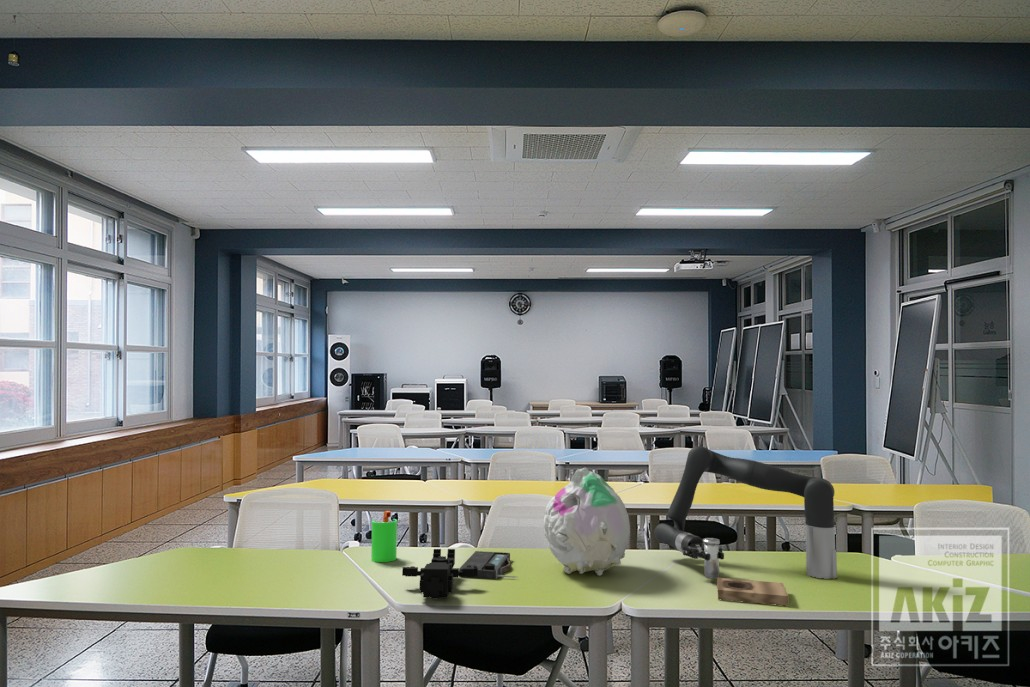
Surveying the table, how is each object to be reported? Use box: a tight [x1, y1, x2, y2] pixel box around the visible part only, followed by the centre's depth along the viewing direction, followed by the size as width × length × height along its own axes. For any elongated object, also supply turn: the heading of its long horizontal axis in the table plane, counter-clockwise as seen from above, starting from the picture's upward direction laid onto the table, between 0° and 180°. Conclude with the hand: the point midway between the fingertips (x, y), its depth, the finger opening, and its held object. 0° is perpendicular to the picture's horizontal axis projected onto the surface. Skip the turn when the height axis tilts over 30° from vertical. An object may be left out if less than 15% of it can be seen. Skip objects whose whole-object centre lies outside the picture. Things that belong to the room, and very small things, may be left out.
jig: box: [716, 577, 789, 607], centre depth 206 cm, size 20×14×3 cm
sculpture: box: [543, 467, 631, 577], centre depth 234 cm, size 33×36×30 cm
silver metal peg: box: [702, 537, 721, 579], centre depth 222 cm, size 5×5×12 cm
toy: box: [401, 548, 478, 599], centre depth 210 cm, size 24×10×30 cm
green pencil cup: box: [370, 510, 398, 563], centre depth 246 cm, size 9×8×18 cm
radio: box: [458, 550, 519, 580], centre depth 235 cm, size 25×4×20 cm
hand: (715, 556), depth 219 cm, fingers closed on silver metal peg, 4 cm apart
